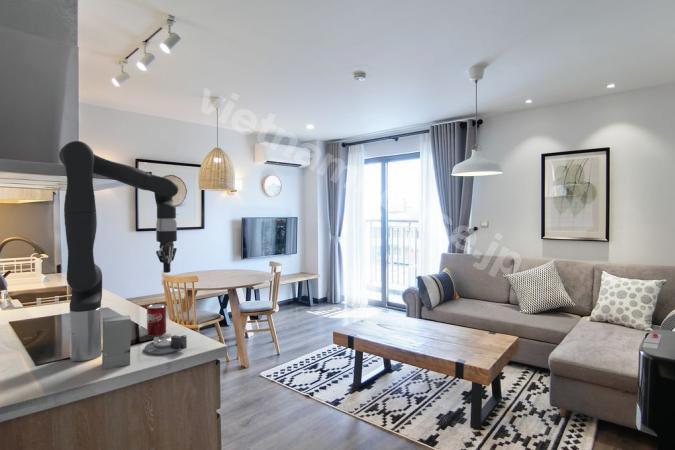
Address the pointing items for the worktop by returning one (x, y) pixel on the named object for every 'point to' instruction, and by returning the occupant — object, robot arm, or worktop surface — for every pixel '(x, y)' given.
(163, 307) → the soda can
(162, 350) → the cap plate
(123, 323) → the skincare box
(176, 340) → the small handled pan
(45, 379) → the worktop surface
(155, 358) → the worktop surface
